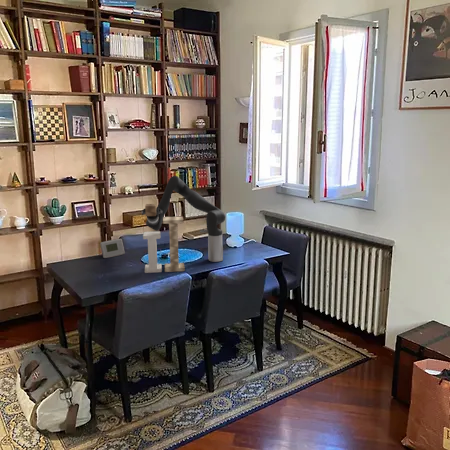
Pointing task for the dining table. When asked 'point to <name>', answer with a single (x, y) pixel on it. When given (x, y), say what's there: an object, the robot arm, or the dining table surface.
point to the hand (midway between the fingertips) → (151, 207)
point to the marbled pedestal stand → (173, 244)
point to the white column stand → (152, 252)
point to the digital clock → (112, 248)
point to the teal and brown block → (150, 209)
